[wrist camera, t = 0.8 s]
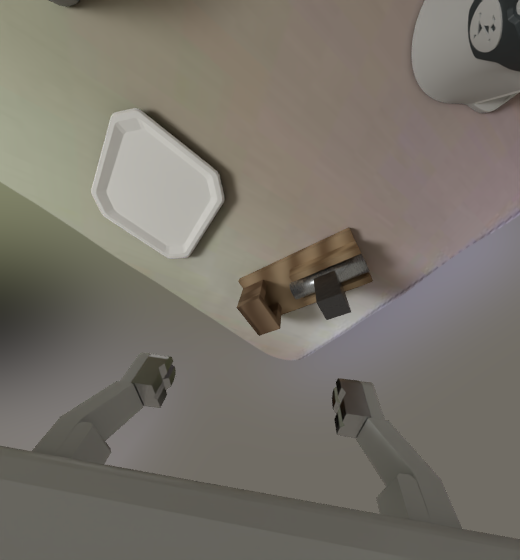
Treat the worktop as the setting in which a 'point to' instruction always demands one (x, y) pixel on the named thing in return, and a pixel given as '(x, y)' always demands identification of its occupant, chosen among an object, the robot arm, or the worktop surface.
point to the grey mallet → (330, 286)
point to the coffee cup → (65, 2)
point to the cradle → (277, 276)
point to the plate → (155, 185)
